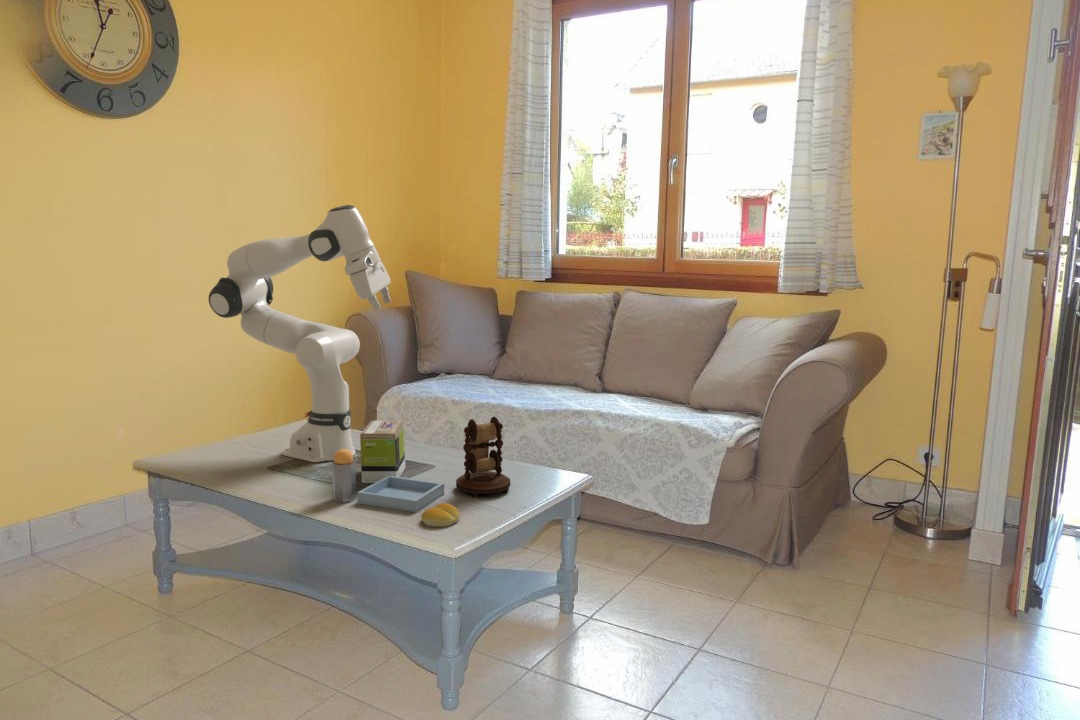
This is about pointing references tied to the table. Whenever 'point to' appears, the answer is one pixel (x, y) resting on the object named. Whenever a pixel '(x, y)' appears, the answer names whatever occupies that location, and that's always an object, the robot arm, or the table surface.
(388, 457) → the tea box
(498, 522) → the table surface
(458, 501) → the table surface
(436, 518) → the bread roll
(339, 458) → the ball
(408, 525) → the table surface
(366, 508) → the table surface
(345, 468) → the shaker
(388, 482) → the tray
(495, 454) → the wooden spool stand
